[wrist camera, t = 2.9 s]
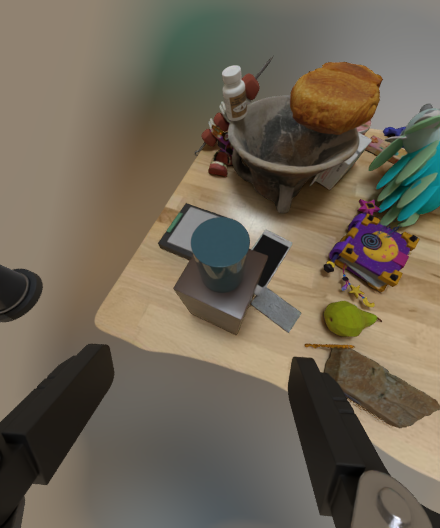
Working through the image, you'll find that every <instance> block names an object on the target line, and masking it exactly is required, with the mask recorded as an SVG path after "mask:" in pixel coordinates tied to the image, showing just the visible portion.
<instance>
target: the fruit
mask: <svg viewBox="0 0 440 528" xmlns="http://www.w3.org/2000/svg"><path fill="white" fill-rule="evenodd" d="M324 317H325V322H326V324H327V326H328V328H329V330H330V331H332V332H333V333H335V334H337V335H339V336H342V337H356V336H359V334H360V333H361V332H362V330H363V329H364V328H366V327H368V326H370V325H372V324H374V323H375V322H376V320H377V319H378V320H380V321H381V322H382V320H381V319H379V318H378V317H377V316H376V315H374V314H371V313H368V312H365V311H362V310H360V309H358V308H357V307H356V306H355V305H353V304H351V303H349V302H346V301H340V302H335V303H331V304H329V305H328V306H327V308H326V310H325V312H324Z"/></svg>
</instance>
